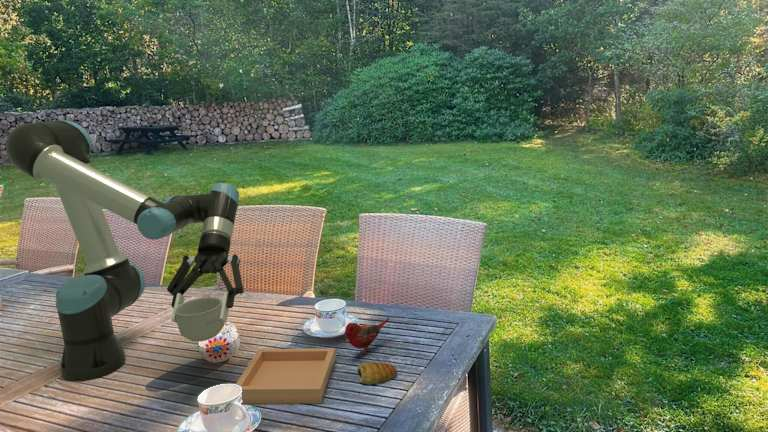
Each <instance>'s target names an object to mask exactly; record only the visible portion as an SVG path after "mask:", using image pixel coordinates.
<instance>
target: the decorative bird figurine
mask: <svg viewBox="0 0 768 432" xmlns="http://www.w3.org/2000/svg"><path fill="white" fill-rule="evenodd" d="M389 320H390V317H386V318H385V319H384V320H383V321H382V322H380V323H379V324H366V325H360V324H358V323H356V322H349V323H348V324H347V325H346V327H345V330H344V333H343V335H346V337H347V339H348V342H349V344H350V345H351V346H353V347H354V348H355V349H363V350H361V351H360V352H359V353H358V354H357V356H360V355H364V354H365V353H366V352H368V351H369V350H370V349H371V348H370V347H369V346H370V345H371V344H372V343H373V342H374V340H375V339H377V337H378V336H379V333H380V330H381V329H382V327H383V326H385V324H386V323H387V322H388V321H389Z"/></svg>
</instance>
